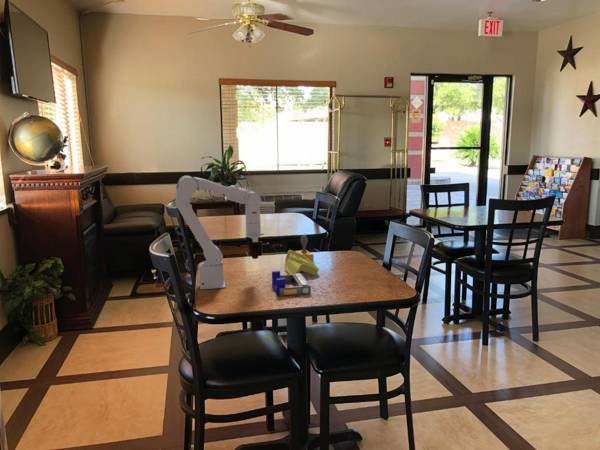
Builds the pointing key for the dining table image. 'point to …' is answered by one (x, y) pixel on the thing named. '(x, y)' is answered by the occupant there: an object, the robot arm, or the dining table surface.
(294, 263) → the plastic component
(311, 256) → the rubber stamp
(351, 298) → the dining table surface
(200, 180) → the robot arm
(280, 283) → the blue arched block
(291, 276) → the rack
